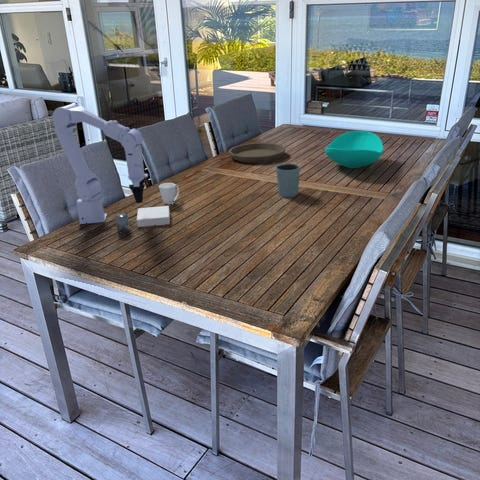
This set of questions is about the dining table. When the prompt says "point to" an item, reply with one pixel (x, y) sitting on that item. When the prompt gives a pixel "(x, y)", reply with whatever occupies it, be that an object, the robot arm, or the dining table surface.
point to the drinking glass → (288, 179)
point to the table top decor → (355, 149)
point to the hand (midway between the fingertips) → (139, 199)
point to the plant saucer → (257, 152)
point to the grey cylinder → (122, 223)
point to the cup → (168, 192)
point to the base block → (153, 216)
